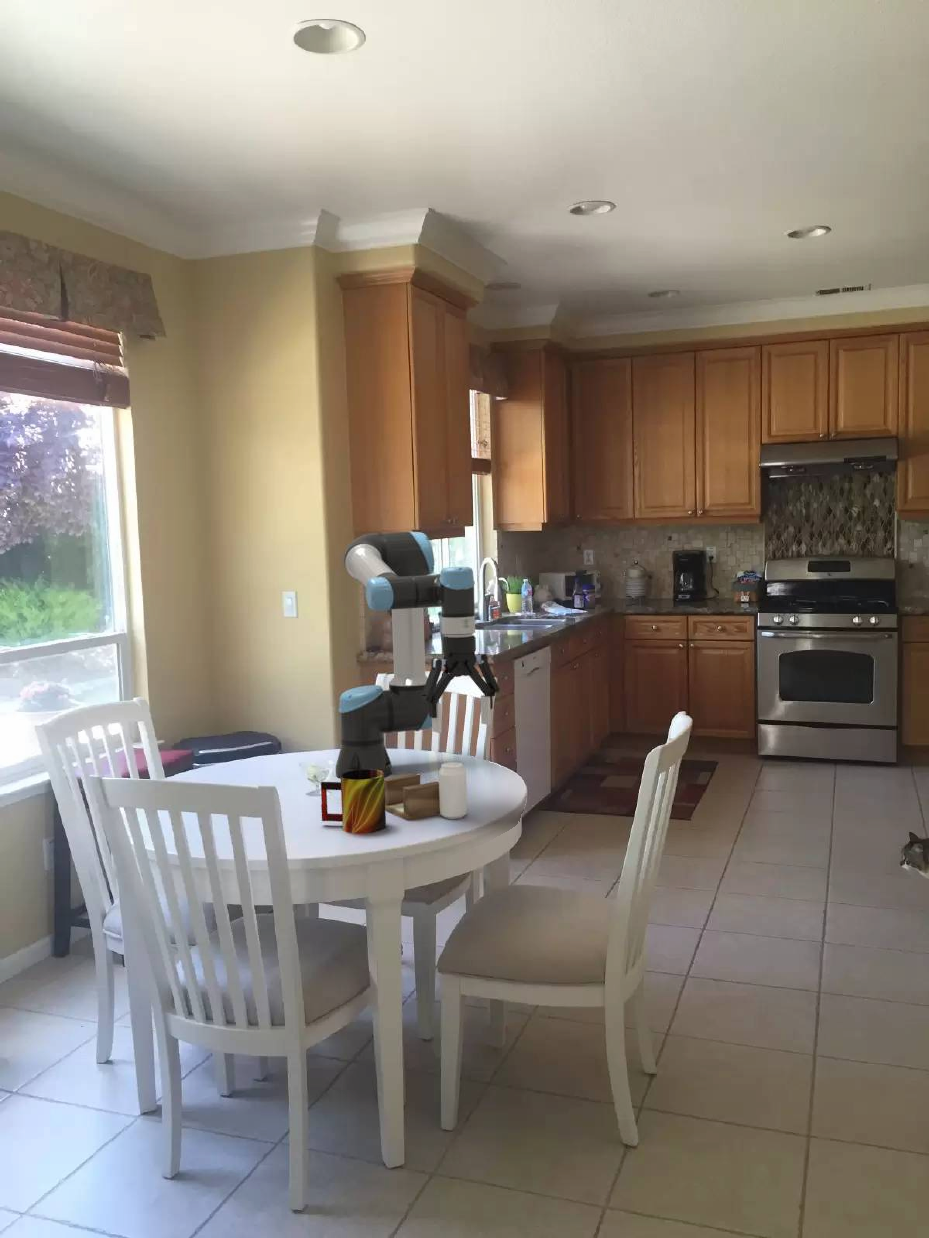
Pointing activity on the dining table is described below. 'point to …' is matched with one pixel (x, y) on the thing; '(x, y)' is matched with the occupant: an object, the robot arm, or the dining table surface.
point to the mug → (358, 801)
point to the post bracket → (411, 797)
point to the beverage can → (452, 790)
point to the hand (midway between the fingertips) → (461, 728)
